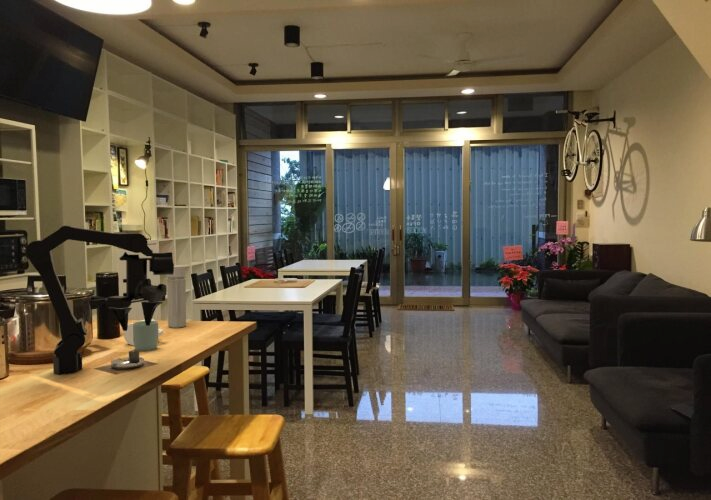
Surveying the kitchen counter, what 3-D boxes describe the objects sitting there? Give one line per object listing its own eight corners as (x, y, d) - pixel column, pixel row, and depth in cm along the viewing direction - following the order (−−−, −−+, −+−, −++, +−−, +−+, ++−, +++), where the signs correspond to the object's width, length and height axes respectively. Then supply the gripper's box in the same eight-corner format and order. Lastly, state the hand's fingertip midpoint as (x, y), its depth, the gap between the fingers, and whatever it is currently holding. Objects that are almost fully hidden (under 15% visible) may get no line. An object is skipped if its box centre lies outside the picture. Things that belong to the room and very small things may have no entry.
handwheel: (104, 365, 163) (104, 350, 163) (131, 359, 171) (131, 345, 171) (123, 370, 158) (122, 355, 158) (150, 363, 166) (150, 348, 165)
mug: (123, 345, 198) (123, 322, 197) (140, 339, 207) (140, 317, 207) (153, 347, 195) (153, 324, 195) (169, 341, 205) (169, 319, 204)
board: (116, 378, 156) (115, 374, 156) (93, 372, 162) (93, 368, 162) (158, 367, 168) (158, 363, 168) (136, 362, 174) (136, 358, 174)
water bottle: (167, 325, 233) (166, 265, 232) (186, 324, 236) (186, 265, 234) (166, 329, 225) (165, 267, 223) (187, 328, 227) (186, 267, 226)
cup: (150, 355, 182) (149, 325, 182) (128, 354, 184) (128, 324, 183) (163, 350, 190) (162, 320, 190) (142, 349, 192) (141, 320, 191)
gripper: (135, 279, 153) (135, 336, 154) (179, 274, 171) (179, 325, 172) (103, 277, 157) (104, 332, 158) (150, 272, 175) (150, 322, 176)
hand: (136, 328), depth 166 cm, fingers open, 9 cm apart
